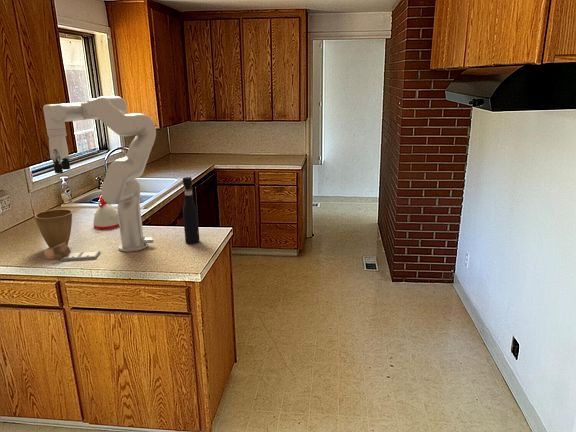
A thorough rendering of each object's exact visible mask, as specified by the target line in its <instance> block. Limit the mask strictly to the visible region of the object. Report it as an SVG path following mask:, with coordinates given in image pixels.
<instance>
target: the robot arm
mask: <svg viewBox="0 0 576 432" xmlns="http://www.w3.org/2000/svg"><path fill="white" fill-rule="evenodd" d="M42 109H43V110H42V111H43V116H44V122H45V129H46V133H47V138H48V149H49V157H50V160H52V163H53V164H52V165H53V170H54V173H55V174H63V173H64V170H65V171H66V170H70V169H71V164H70V158H69V148H68V144H67V143H68V142H67V138H66V137H67V130H66V124H65V122H77V121H85V120H86V121H87V120H95V121H96V120H100V121H101V122H102V123H103V124H104V125H106V126H107V127H108V128H109V130H111V131H112V132H114V133H115V134H116V135H118V136H121V137H130V136H134V138H133V139H132V141H131V143H130V144H129V145H128V149H127V152H126V155H125V156H124V157H121V158H118V159H114V160H113V161H112V162H111V163H110V164H109V165H108V167H107V170H106V172H105V176H104V179H103V183H102V186H101V192H100V194H101V198H102V199H103V200H104V201H105V202H106V203H108V204H111V205H117V207H116V210H117V211H118V220H119V227H118V228H119V233H120V241H121V243H120V244H119V245H118V250H119V251H120V252H126V253H127V252H128V253H131V252H138V251H141V250H145V249H146V248H148V245H149V244H154V243H155V239H154V238H152V237H146V235H145V234H144V231H143V230H144V229H143V221H142V220H143V219H142V213H141V203H140V202H141V198H140V197H141V187H140V183H139V182H138V180H137V179H138V178H141V176H142V175H143V174H144V171H145V168H146V166H147V162H148V160H149V157H150V154H151V151H152V148H153V146H154V144H155V141H156V137H157V129H156V125H155V122H154V120H153V119H152V118H151V117H150V116H149V115H147V114H146V113H142V112H141V113H126V112H127V111H128V103H127V102H126V101H125V99H124V98H122V97H120V96H117V95H116V96H115V95H111V96H98V97H97V98H89V99H88V100H87V101H86V102H85V101H84V102H72V103H71V102H70V103H69V102H67V103H55V104H54V103H52V104H51V103H50V104H44V105H43V107H42Z"/></svg>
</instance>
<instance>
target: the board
mask: <svg viewBox="0 0 576 432" xmlns="http://www.w3.org/2000/svg"><path fill="white" fill-rule="evenodd" d="M99 255H101V251H100V250H95V251H94V250H93V251H81V252H80V251H79V252H71V253H70V254H68V255H67V256H65V257H62V258H60V262H69V261H85V260H86V261H87V260H97V258H98V257H99Z"/></svg>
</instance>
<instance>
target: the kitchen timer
mask: <svg viewBox="0 0 576 432" xmlns="http://www.w3.org/2000/svg"><path fill="white" fill-rule="evenodd" d="M99 202H100V203H98V208H97V210H96V211H95V213H94V217H93V222H92V223H93V228H94V229H95V230H101V231H102V230H105V231H106V230H112V229H116V228H119V220H118V211H117V208H116V207H115V206H114V205H113V204H108V203H106V202H105V201H104V200H103V198H102V200H99Z"/></svg>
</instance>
